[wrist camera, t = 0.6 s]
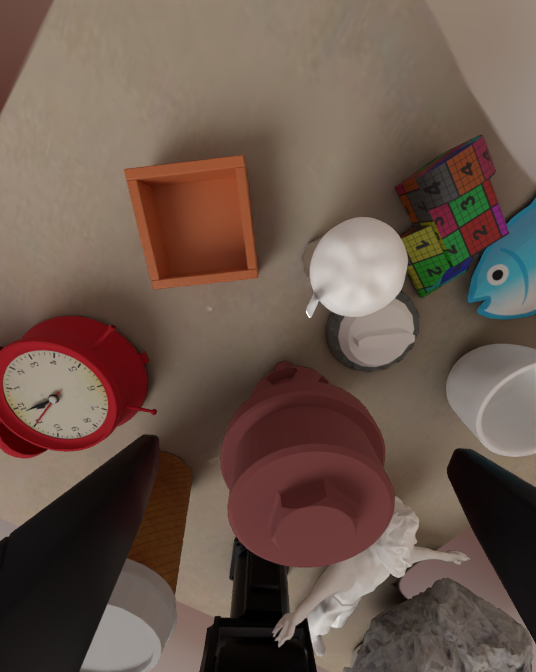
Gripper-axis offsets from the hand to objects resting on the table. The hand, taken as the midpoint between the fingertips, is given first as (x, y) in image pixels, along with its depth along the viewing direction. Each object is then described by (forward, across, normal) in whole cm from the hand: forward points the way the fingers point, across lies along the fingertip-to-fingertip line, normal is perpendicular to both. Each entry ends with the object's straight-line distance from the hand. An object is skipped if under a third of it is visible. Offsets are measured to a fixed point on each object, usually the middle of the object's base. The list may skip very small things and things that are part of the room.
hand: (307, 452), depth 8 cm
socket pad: (+15, +6, -6) cm, 17 cm away
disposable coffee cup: (+14, +11, +17) cm, 25 cm away
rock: (+3, -21, +36) cm, 41 cm away
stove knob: (+15, -8, +1) cm, 17 cm away
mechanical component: (+14, -2, +7) cm, 16 cm away
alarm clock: (+14, +18, +7) cm, 24 cm away
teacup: (+14, -18, +4) cm, 23 cm away
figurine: (+8, -7, +40) cm, 42 cm away
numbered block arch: (+15, -10, -7) cm, 19 cm away
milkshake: (+15, -2, -4) cm, 16 cm away
